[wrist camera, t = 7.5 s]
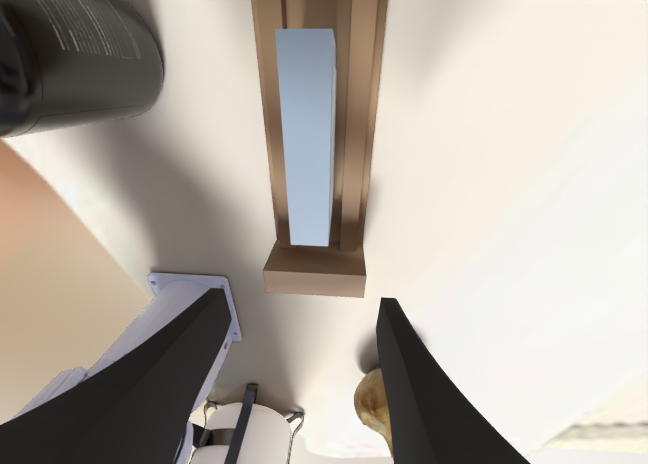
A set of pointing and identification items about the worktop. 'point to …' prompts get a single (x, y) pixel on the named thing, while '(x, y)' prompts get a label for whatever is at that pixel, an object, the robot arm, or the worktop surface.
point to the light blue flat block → (308, 129)
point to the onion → (374, 405)
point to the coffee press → (243, 434)
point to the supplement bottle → (74, 64)
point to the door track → (350, 141)
